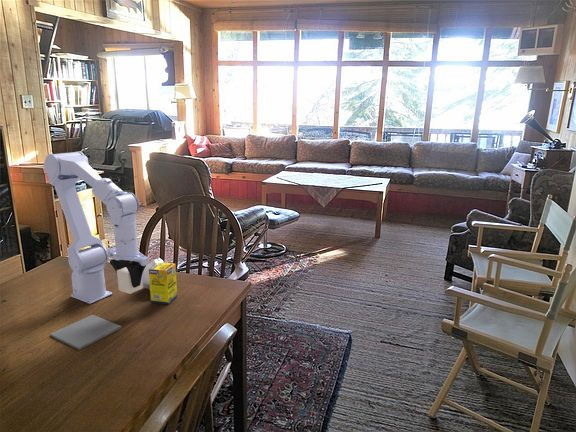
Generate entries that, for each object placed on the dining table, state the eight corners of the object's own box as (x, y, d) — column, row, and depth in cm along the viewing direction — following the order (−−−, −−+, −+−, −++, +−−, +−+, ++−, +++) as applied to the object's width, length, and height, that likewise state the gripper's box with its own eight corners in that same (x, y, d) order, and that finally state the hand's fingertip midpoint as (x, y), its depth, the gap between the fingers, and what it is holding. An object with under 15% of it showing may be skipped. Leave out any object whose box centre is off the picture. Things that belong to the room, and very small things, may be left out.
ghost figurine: (169, 294, 131) (167, 264, 128) (138, 295, 129) (135, 265, 127) (172, 282, 139) (170, 254, 137) (143, 283, 138) (140, 255, 135)
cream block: (118, 290, 117) (116, 270, 116) (131, 284, 121) (130, 265, 119) (129, 294, 115) (127, 273, 113) (142, 288, 119) (141, 268, 117)
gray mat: (50, 336, 106) (50, 333, 106) (92, 316, 116) (92, 314, 116) (79, 350, 101) (79, 347, 100) (121, 328, 111) (121, 326, 110)
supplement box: (169, 305, 124) (166, 270, 121) (150, 302, 125) (147, 268, 122) (178, 296, 129) (176, 263, 126) (160, 294, 130) (157, 261, 128)
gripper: (96, 237, 114) (101, 283, 118) (132, 246, 107) (136, 295, 111) (117, 231, 120) (122, 275, 124) (153, 239, 113) (156, 286, 116)
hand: (130, 284), depth 117 cm, fingers closed on cream block, 4 cm apart
